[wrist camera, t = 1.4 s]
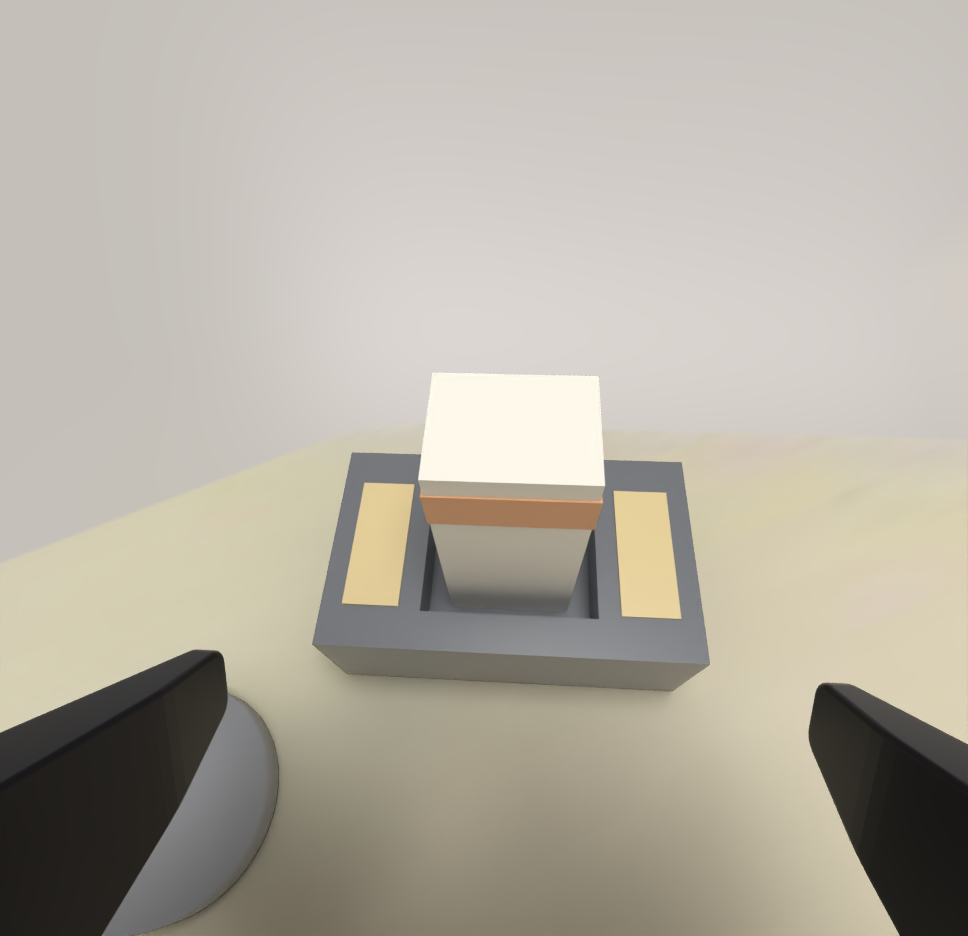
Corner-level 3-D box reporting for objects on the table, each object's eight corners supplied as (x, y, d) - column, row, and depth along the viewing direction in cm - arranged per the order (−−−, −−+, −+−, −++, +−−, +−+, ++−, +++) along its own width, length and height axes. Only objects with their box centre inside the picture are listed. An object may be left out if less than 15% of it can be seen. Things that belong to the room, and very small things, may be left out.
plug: (568, 613, 20) (607, 488, 12) (450, 607, 20) (415, 481, 12) (566, 531, 21) (600, 374, 14) (457, 527, 22) (430, 371, 14)
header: (672, 691, 21) (711, 664, 17) (347, 673, 21) (311, 644, 17) (653, 517, 24) (682, 461, 20) (375, 507, 25) (351, 451, 21)
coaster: (173, 982, 17) (146, 996, 16) (24, 842, 19) (-12, 844, 18) (319, 754, 20) (306, 751, 19) (177, 654, 22) (156, 645, 21)
